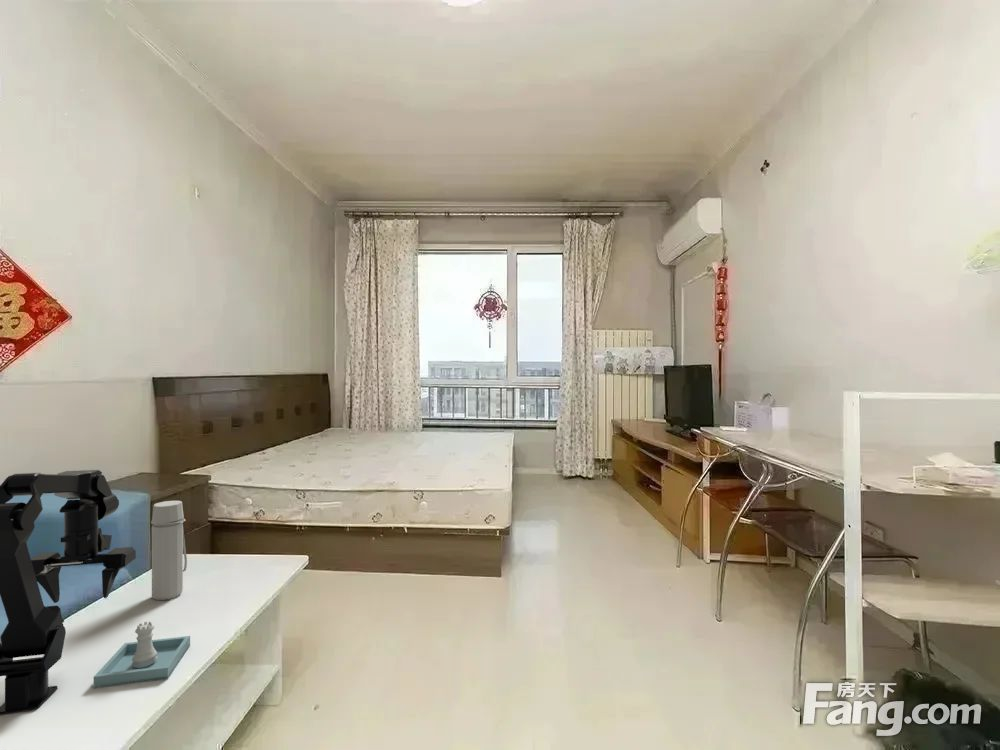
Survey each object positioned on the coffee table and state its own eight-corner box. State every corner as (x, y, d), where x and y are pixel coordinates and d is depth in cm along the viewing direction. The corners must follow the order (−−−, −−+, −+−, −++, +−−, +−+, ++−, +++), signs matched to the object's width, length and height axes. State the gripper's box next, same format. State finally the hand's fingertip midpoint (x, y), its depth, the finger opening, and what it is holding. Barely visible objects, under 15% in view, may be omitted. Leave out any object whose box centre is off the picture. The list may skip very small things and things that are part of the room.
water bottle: (165, 603, 134) (165, 508, 133) (143, 599, 136) (143, 505, 136) (196, 589, 142) (196, 499, 142) (175, 585, 145) (175, 497, 145)
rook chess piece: (127, 671, 102) (127, 631, 102) (136, 658, 107) (136, 620, 107) (152, 667, 104) (152, 628, 103) (161, 655, 108) (161, 618, 108)
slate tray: (167, 678, 101) (167, 667, 101) (93, 688, 98) (93, 676, 98) (190, 645, 113) (190, 635, 113) (124, 653, 110) (124, 643, 110)
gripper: (146, 515, 121) (146, 580, 121) (53, 520, 116) (53, 589, 117) (123, 529, 110) (124, 601, 110) (20, 535, 106) (20, 611, 106)
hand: (81, 599), depth 111 cm, fingers open, 9 cm apart
